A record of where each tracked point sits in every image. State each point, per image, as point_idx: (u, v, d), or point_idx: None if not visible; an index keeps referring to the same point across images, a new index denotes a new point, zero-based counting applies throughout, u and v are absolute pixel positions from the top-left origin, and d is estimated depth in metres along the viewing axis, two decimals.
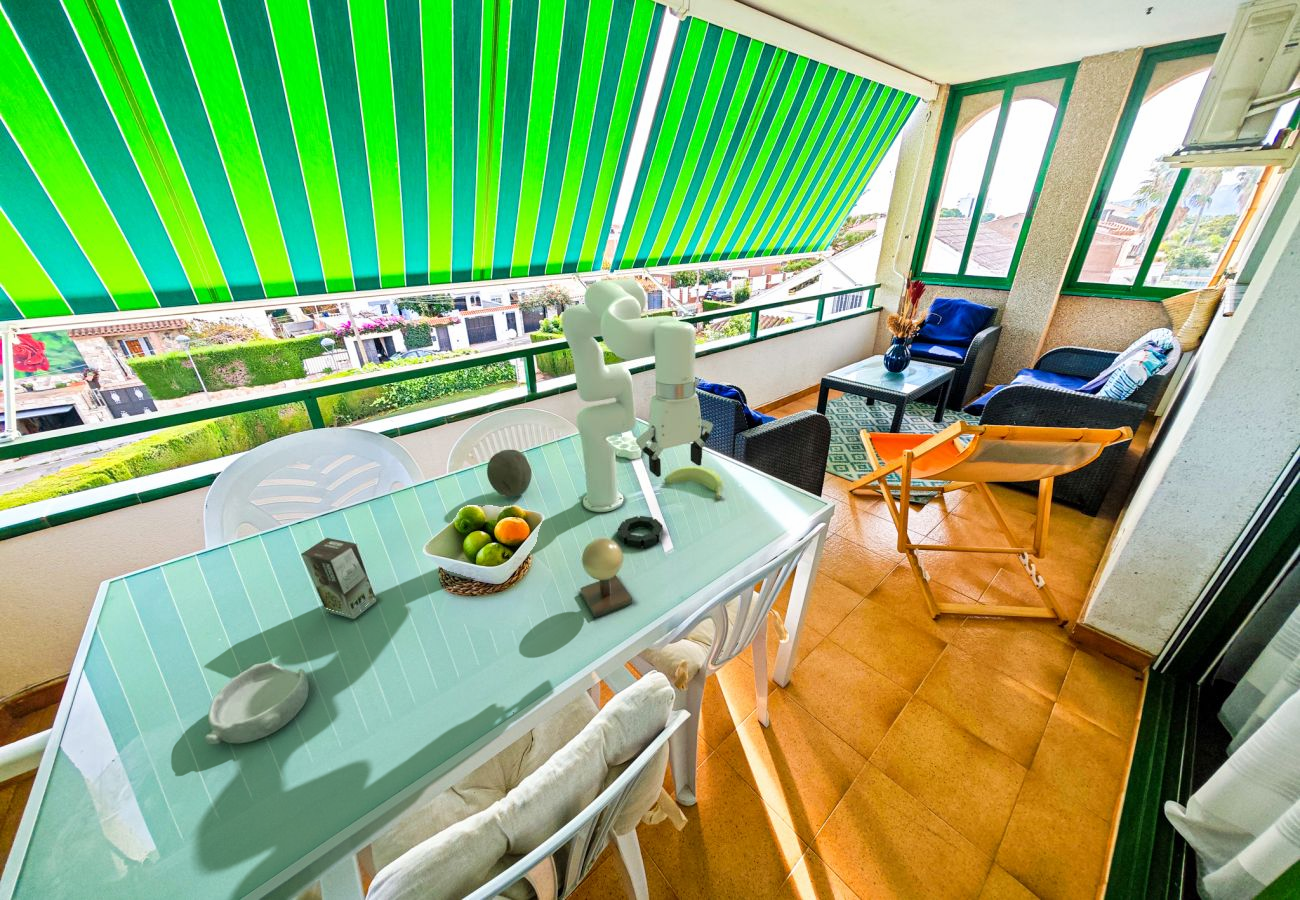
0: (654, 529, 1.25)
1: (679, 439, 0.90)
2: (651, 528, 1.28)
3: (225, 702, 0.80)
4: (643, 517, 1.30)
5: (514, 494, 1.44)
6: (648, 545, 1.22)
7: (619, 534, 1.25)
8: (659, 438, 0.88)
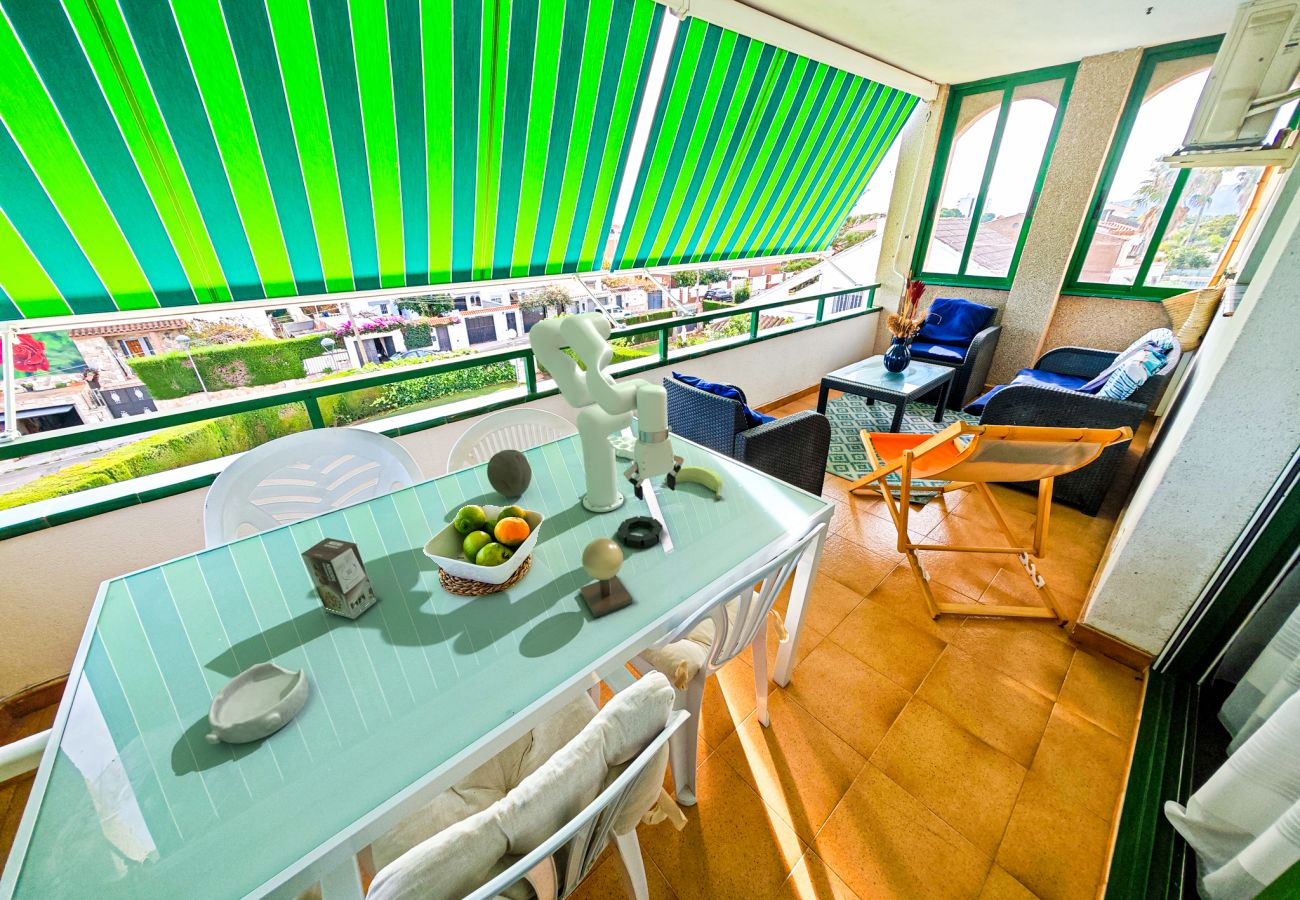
0: (654, 529, 1.25)
1: (656, 472, 1.18)
2: (651, 528, 1.28)
3: (225, 702, 0.80)
4: (643, 517, 1.30)
5: (514, 494, 1.44)
6: (648, 545, 1.22)
7: (619, 534, 1.25)
8: (641, 471, 1.16)
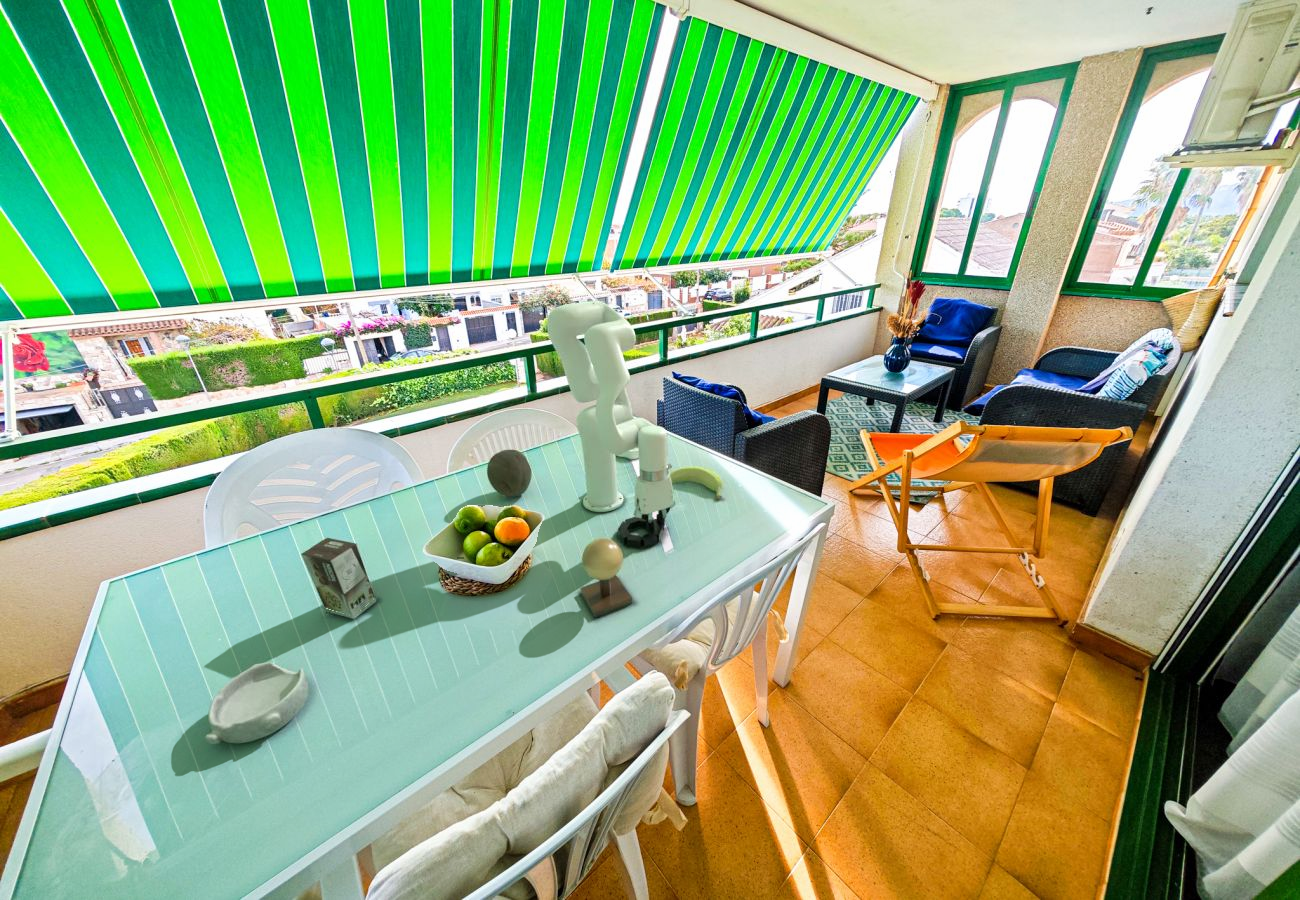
0: (654, 529, 1.25)
1: (657, 507, 1.23)
2: None
3: (225, 702, 0.80)
4: None
5: (514, 494, 1.44)
6: (648, 545, 1.22)
7: (619, 534, 1.25)
8: (642, 507, 1.21)
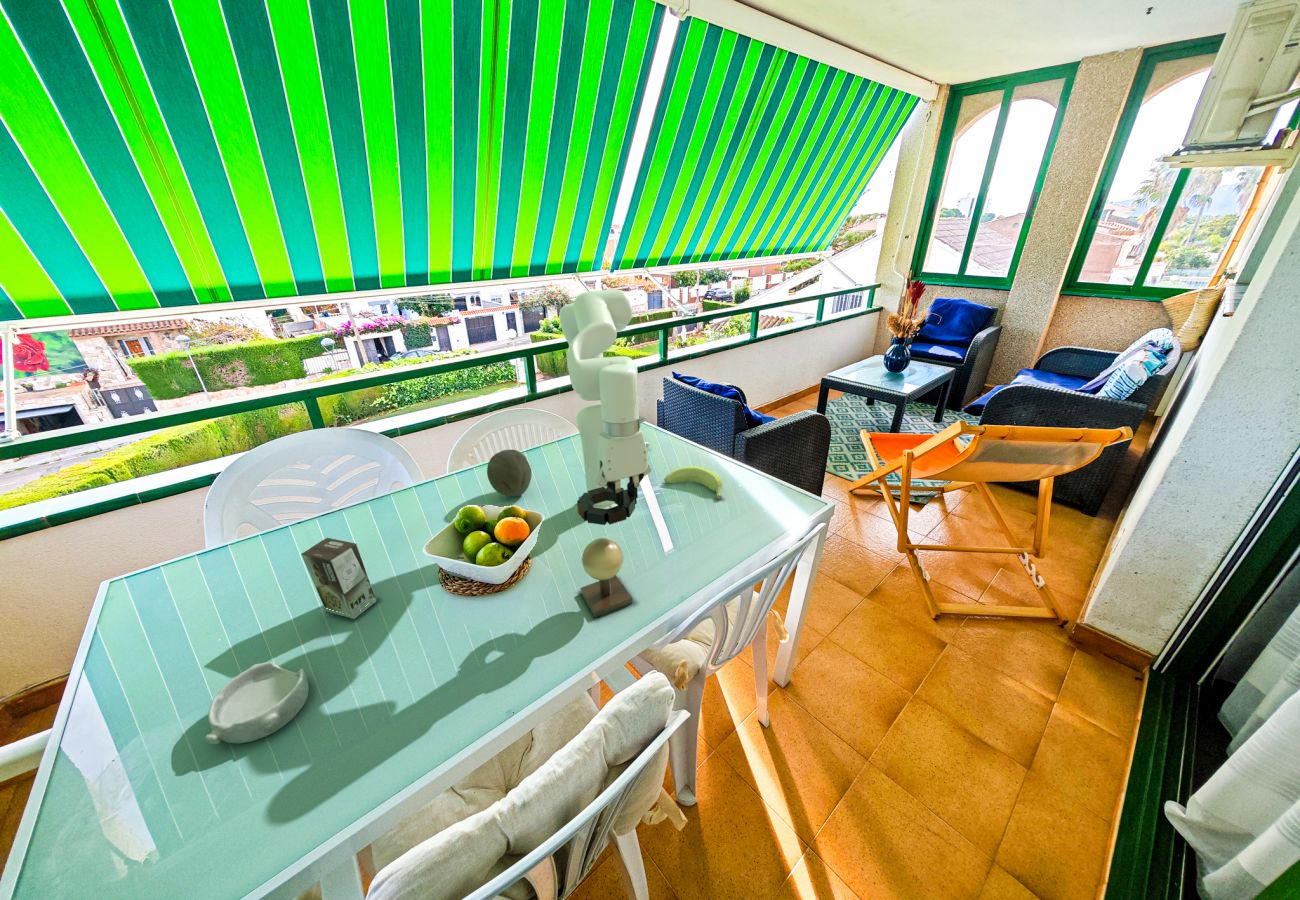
0: (623, 501, 0.97)
1: (626, 472, 0.96)
2: None
3: (225, 702, 0.80)
4: None
5: (514, 494, 1.44)
6: (615, 521, 0.94)
7: (578, 508, 0.97)
8: (606, 472, 0.94)
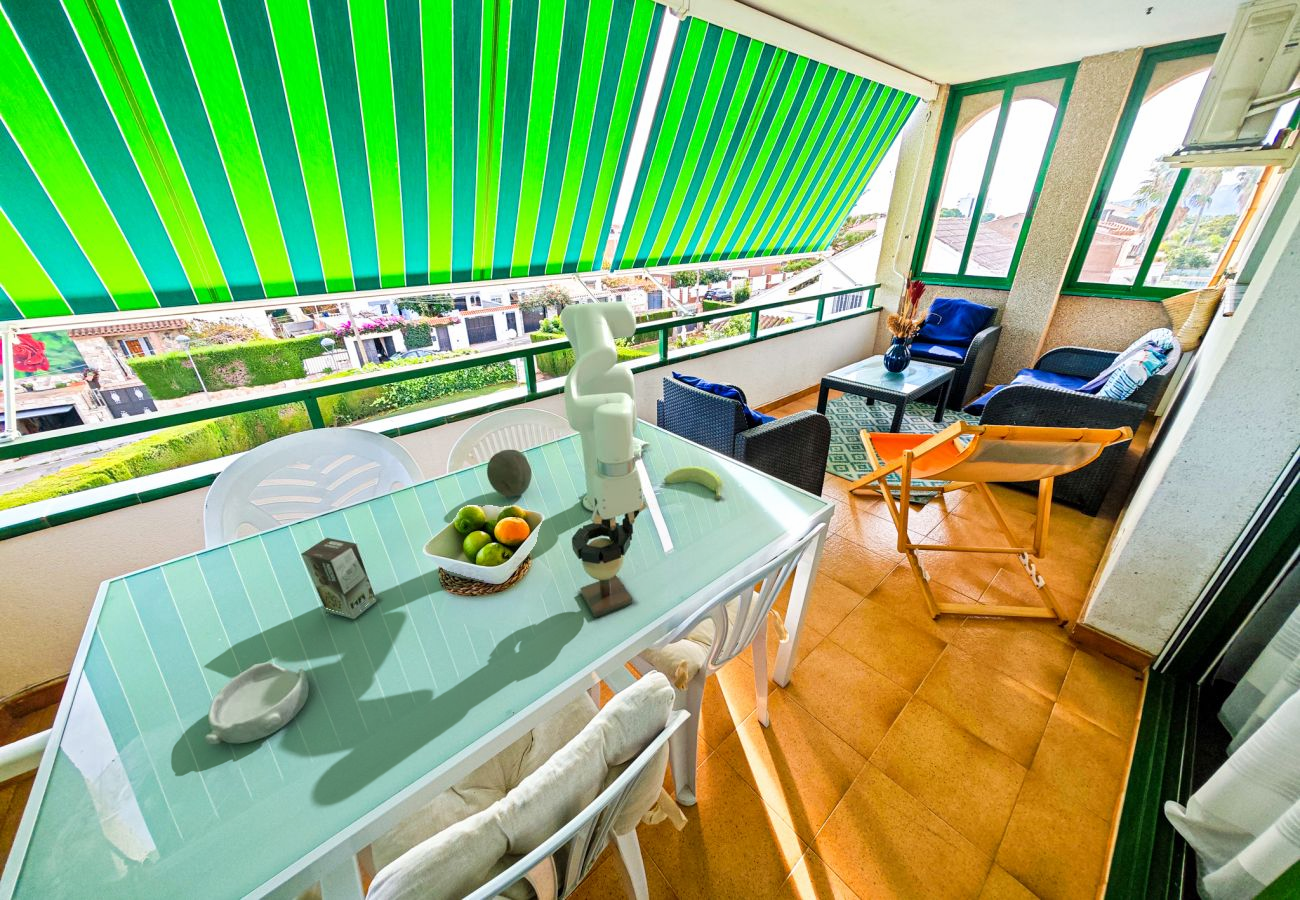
0: (618, 538, 0.97)
1: (621, 510, 0.95)
2: None
3: (225, 702, 0.80)
4: None
5: (514, 494, 1.44)
6: (609, 559, 0.93)
7: (573, 545, 0.96)
8: (600, 510, 0.93)
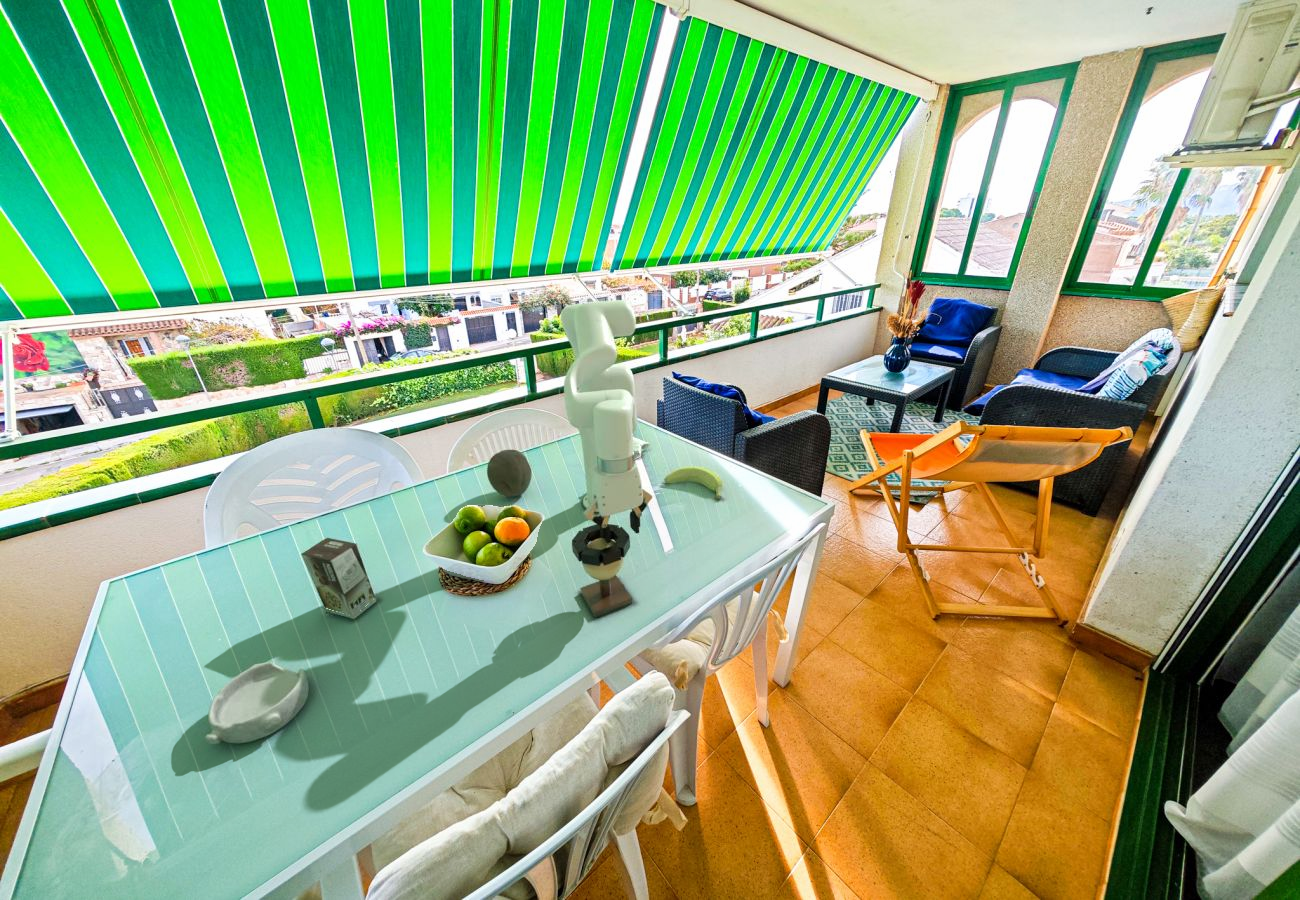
0: (618, 540, 0.97)
1: (620, 507, 0.95)
2: (615, 539, 1.00)
3: (225, 702, 0.80)
4: None
5: (514, 494, 1.44)
6: (609, 561, 0.94)
7: (573, 547, 0.97)
8: (600, 507, 0.93)
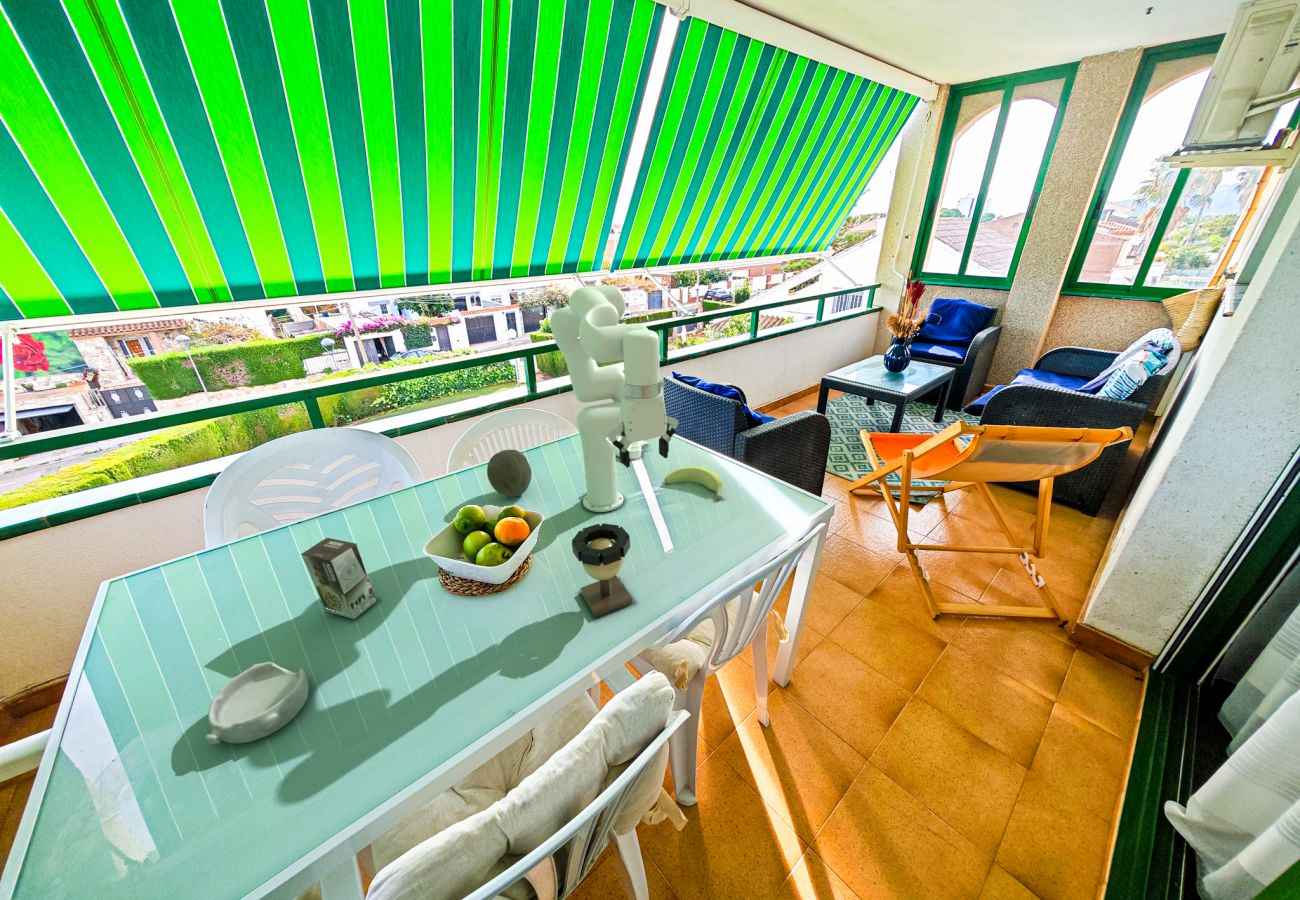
0: (618, 540, 0.97)
1: (646, 434, 1.01)
2: (615, 539, 1.00)
3: (225, 702, 0.80)
4: (605, 525, 1.03)
5: (514, 494, 1.44)
6: (609, 561, 0.94)
7: (573, 547, 0.97)
8: (627, 432, 0.99)
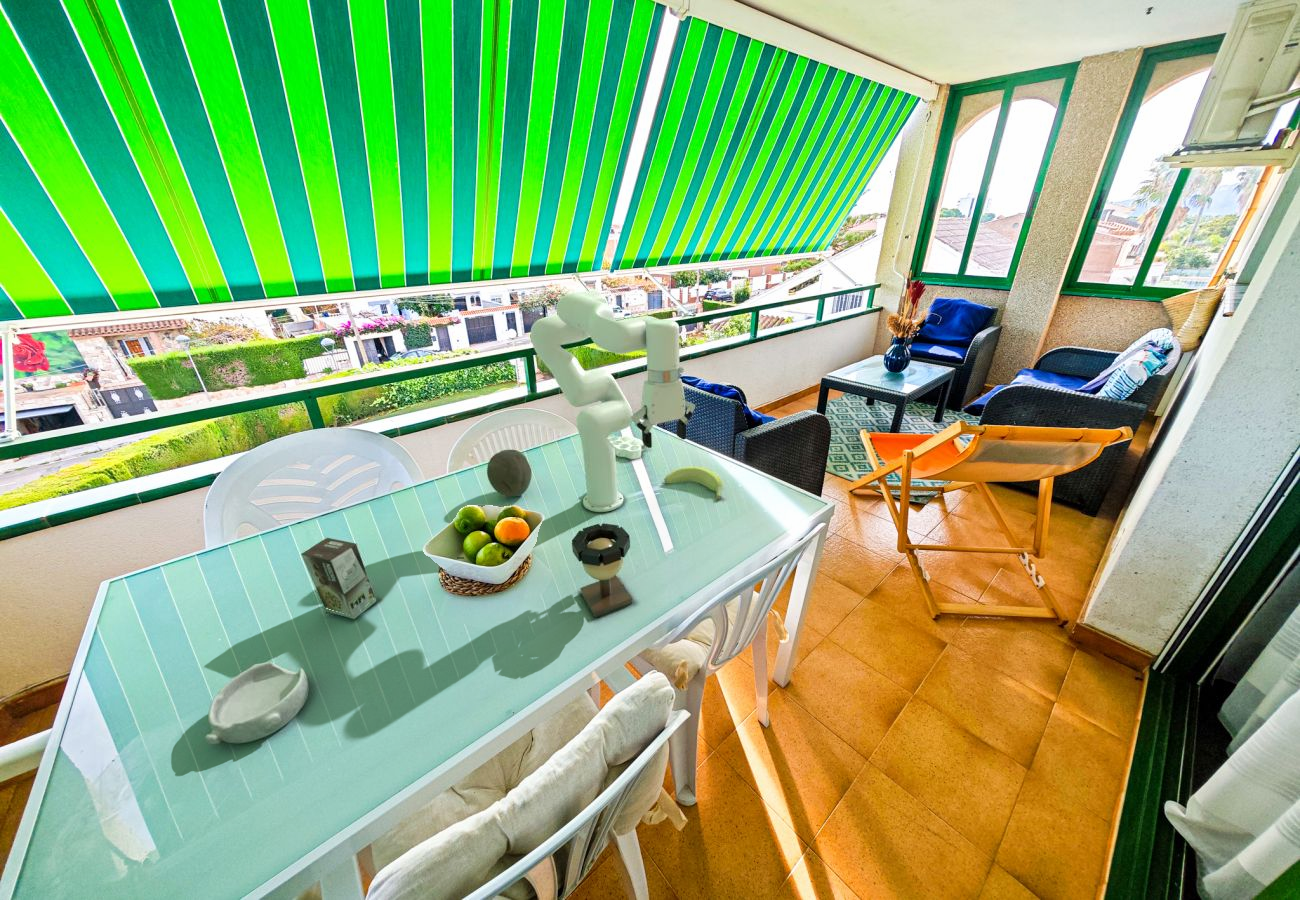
0: (618, 540, 0.97)
1: (667, 416, 1.09)
2: (615, 539, 1.00)
3: (225, 702, 0.80)
4: (605, 525, 1.03)
5: (514, 494, 1.44)
6: (609, 561, 0.94)
7: (573, 547, 0.97)
8: (650, 415, 1.07)
